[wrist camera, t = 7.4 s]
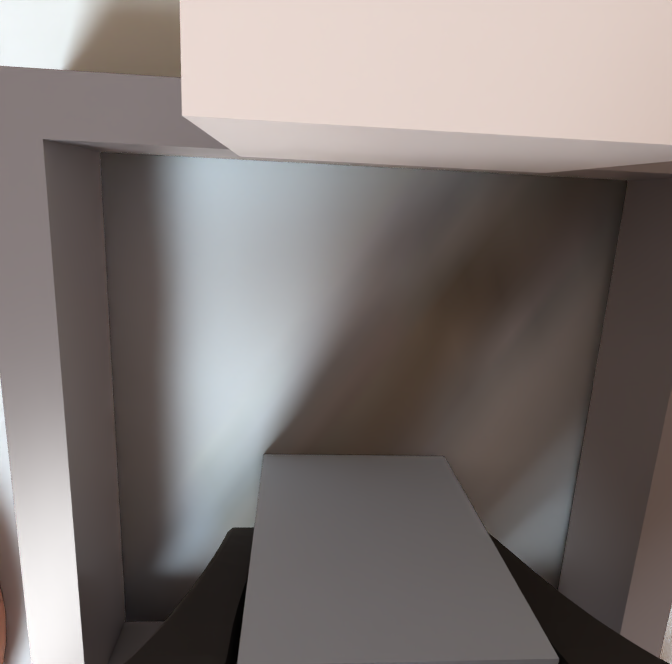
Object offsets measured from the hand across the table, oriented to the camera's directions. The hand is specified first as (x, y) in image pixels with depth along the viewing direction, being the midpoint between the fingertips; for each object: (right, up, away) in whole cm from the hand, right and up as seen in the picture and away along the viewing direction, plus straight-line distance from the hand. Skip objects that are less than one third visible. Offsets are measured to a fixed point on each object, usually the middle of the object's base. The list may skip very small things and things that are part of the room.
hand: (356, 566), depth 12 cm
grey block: (0, 0, +1) cm, 1 cm away
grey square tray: (0, +3, 0) cm, 3 cm away
